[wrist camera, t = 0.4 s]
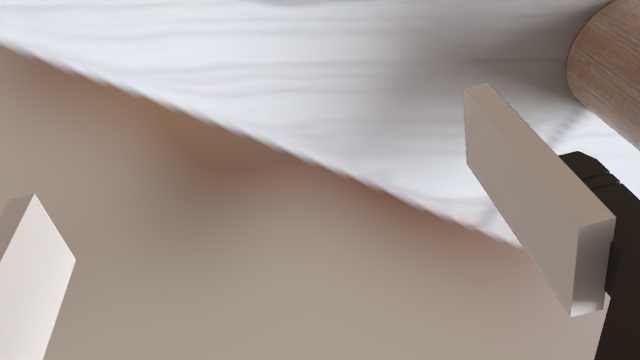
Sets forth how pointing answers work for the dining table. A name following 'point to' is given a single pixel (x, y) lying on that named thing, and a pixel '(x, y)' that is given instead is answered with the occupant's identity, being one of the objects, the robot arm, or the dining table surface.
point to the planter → (609, 67)
